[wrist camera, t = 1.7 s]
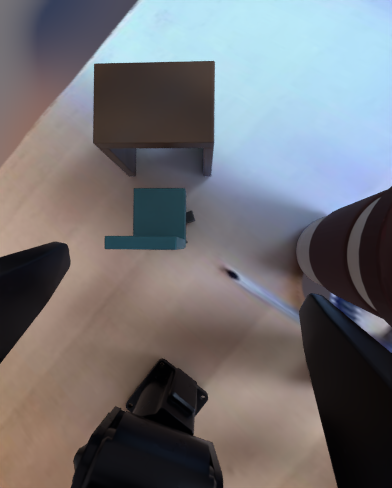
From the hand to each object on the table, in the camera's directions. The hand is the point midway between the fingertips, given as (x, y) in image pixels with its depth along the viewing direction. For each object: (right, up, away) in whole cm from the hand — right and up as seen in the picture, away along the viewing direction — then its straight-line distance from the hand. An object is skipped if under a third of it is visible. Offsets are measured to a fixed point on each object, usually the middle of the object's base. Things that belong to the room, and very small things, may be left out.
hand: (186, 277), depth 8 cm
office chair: (-3, +3, +16) cm, 17 cm away
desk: (-3, +12, +16) cm, 20 cm away
